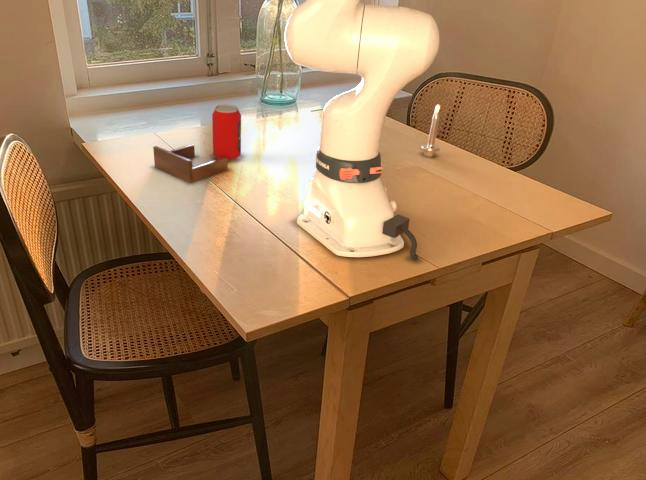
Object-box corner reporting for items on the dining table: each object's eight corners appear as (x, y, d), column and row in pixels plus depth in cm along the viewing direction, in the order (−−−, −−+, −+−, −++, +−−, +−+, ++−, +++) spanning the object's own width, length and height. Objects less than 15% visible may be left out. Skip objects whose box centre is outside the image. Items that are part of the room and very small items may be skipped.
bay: (192, 155, 142) (191, 135, 139) (227, 170, 135) (227, 149, 133) (154, 167, 135) (153, 146, 132) (190, 183, 128) (188, 161, 125)
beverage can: (246, 157, 143) (247, 108, 136) (226, 164, 138) (225, 113, 132) (227, 150, 146) (227, 102, 140) (207, 156, 142) (206, 107, 136)
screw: (442, 155, 150) (430, 159, 147) (427, 150, 153) (415, 154, 150) (452, 105, 143) (440, 108, 140) (436, 100, 146) (424, 103, 143)
